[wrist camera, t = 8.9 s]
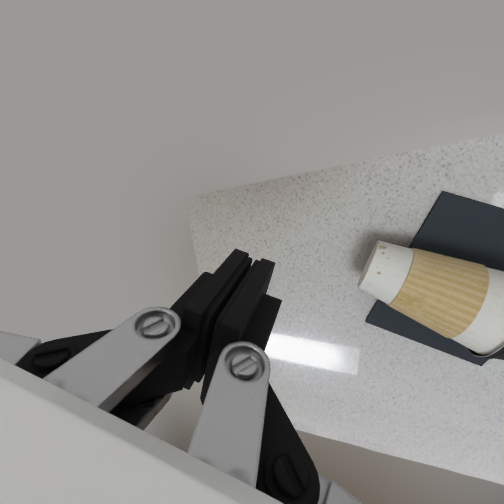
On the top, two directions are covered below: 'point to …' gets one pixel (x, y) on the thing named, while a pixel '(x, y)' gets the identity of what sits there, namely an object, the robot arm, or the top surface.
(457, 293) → the coffee cup
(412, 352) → the top surface
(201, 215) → the top surface
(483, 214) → the mat
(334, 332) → the top surface
